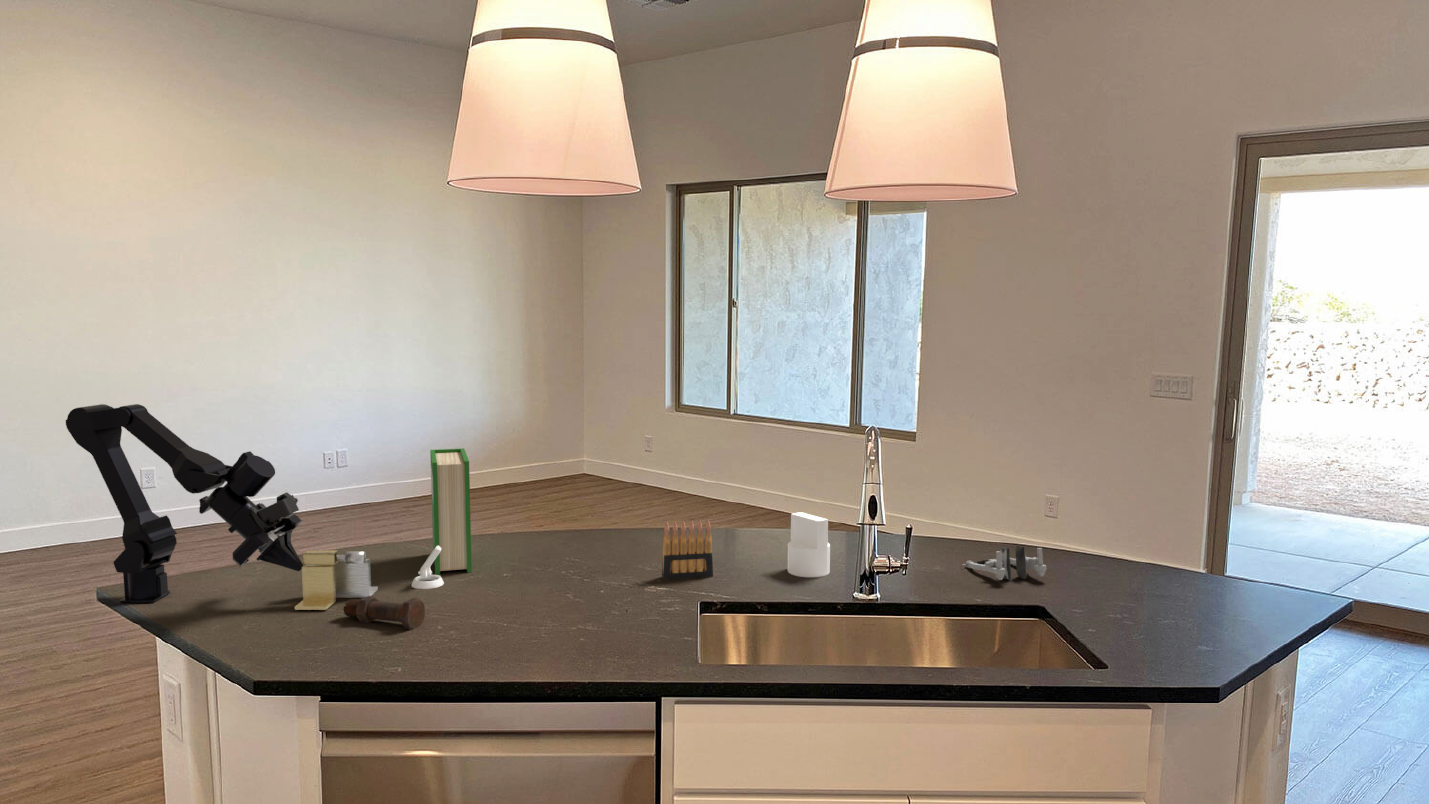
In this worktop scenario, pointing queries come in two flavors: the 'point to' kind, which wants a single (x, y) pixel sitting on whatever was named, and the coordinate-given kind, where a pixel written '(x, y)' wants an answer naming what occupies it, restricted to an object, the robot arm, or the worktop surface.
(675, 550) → the ammunition clip
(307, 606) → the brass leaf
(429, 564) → the hook
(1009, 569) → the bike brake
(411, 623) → the bolt
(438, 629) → the worktop surface
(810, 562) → the cylinder with rectangular tab
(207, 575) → the worktop surface
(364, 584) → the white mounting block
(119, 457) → the robot arm
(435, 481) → the hardback book
